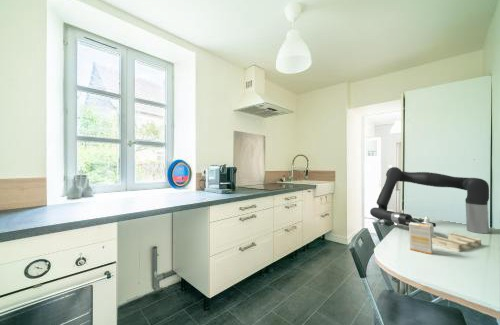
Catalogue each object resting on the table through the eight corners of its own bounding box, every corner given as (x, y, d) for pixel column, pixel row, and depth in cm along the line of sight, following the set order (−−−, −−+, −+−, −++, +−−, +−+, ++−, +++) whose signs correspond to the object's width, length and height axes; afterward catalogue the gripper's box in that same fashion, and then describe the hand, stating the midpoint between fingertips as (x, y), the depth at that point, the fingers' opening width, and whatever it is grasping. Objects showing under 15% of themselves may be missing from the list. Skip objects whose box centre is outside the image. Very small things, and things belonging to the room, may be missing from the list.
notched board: (453, 238, 114) (453, 233, 114) (481, 245, 104) (481, 239, 104) (431, 243, 108) (431, 237, 108) (458, 251, 97) (458, 245, 97)
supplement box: (432, 251, 98) (431, 224, 98) (431, 254, 95) (430, 226, 95) (411, 246, 104) (410, 221, 104) (409, 249, 101) (408, 223, 101)
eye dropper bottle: (422, 234, 122) (421, 214, 122) (434, 236, 117) (433, 216, 118) (420, 236, 119) (419, 215, 119) (433, 238, 114) (432, 217, 115)
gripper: (393, 214, 129) (424, 220, 113) (408, 211, 134) (439, 217, 118) (394, 225, 129) (424, 233, 113) (408, 223, 134) (440, 230, 118)
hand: (432, 225), depth 116 cm, fingers closed on eye dropper bottle, 5 cm apart
